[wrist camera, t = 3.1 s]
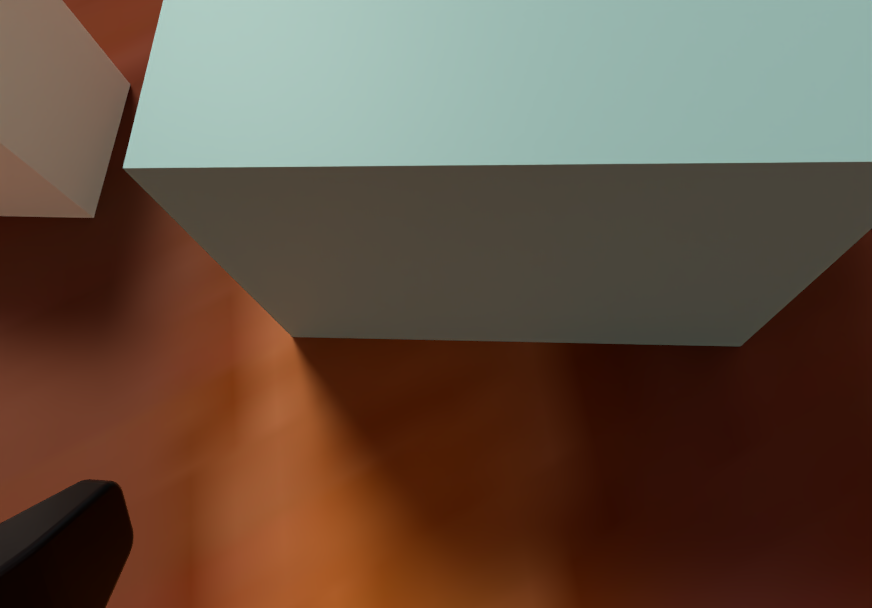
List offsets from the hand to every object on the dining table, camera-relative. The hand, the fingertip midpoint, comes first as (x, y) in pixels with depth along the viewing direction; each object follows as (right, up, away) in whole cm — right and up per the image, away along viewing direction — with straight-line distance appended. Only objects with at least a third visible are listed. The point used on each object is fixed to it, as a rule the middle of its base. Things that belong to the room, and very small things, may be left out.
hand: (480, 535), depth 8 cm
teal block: (+2, +6, +12) cm, 14 cm away
